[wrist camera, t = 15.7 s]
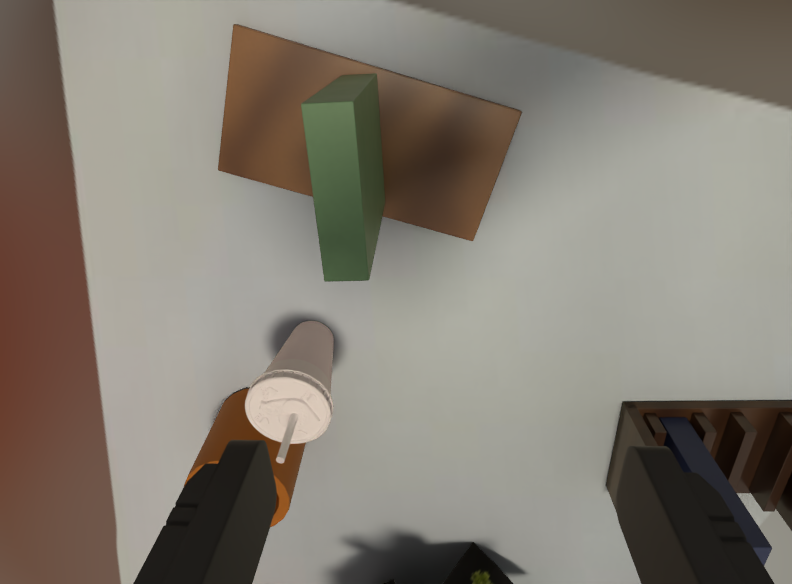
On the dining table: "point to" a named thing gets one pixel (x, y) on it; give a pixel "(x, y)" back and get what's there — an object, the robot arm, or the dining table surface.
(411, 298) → the dining table surface
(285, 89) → the brown wooden board
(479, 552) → the potted plant
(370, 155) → the green book
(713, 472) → the navy book
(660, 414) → the book rack
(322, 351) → the smoothie
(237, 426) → the mug
